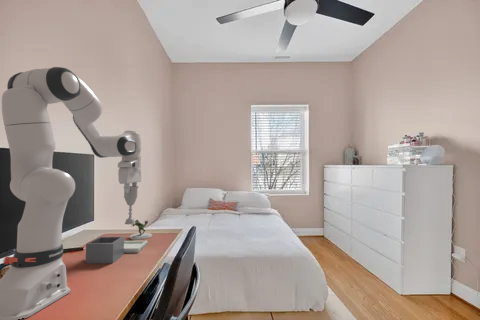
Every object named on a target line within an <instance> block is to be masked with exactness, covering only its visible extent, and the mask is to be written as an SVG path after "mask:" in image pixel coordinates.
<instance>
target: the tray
mask: <svg viewBox="0 0 480 320" xmlns="http://www.w3.org/2000/svg"><path fill="white" fill-rule="evenodd" d="M147 245H148V240H124V254H135V253H136V254H138V253H140V252H141V251H142V250H144V249H145V247H147Z"/></svg>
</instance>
